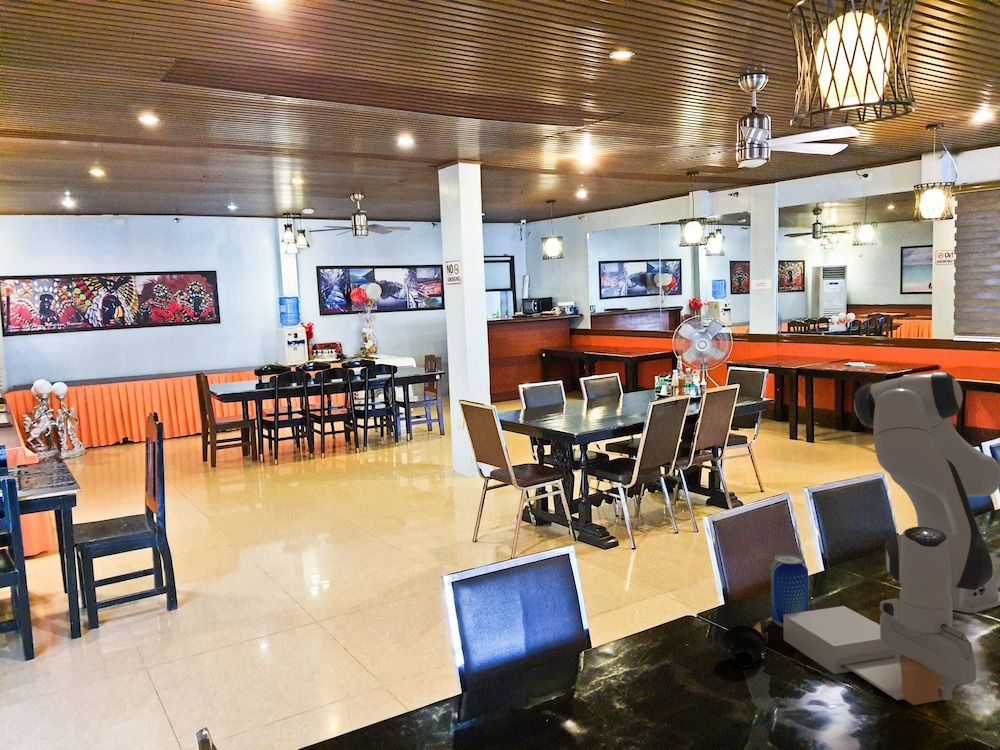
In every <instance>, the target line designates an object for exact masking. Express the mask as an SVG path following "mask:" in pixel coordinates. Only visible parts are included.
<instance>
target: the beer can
mask: <svg viewBox="0 0 1000 750" xmlns="http://www.w3.org/2000/svg"><path fill="white" fill-rule="evenodd" d="M770 593H771V594H770V597H771V598H770V599H771V601H770V602H771V603H770V604H771V619H772V620H773V621H774V623H775V624H776V625H777V626H778V627H780V628H783V629H784V624H783V615H786V614H792V613H799V612H806V611H810V610H809V568H808V567H807V565H806V563H805V560H804V558H803V557H801V556H799V555H795V554H778V555H776V556H775V557H774V561H773V562H772V564H771V566H770Z"/></svg>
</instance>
